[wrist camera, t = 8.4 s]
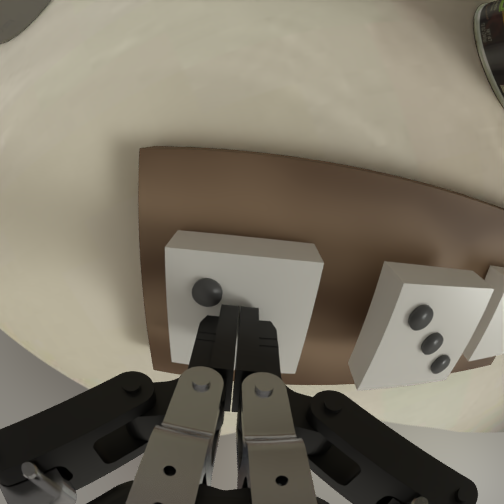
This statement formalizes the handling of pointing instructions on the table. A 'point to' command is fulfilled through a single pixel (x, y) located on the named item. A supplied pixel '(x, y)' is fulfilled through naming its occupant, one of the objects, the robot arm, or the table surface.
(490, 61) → the coffee can
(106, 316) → the table surface
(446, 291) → the tile three
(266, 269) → the tile two
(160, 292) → the tile board
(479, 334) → the tile one
